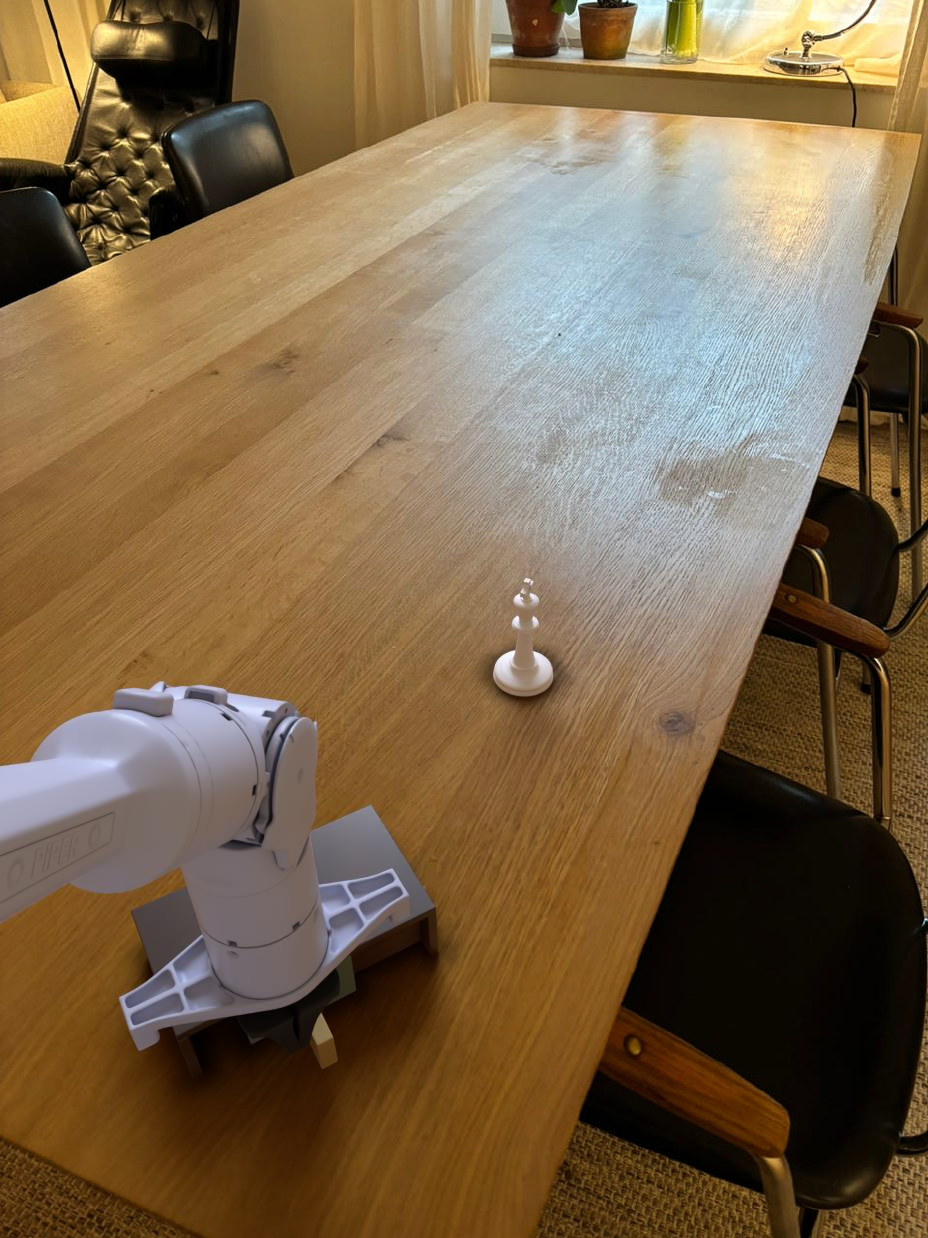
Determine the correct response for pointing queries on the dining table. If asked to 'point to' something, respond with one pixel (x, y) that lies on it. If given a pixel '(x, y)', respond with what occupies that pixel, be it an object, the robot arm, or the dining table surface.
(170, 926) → the cabinet
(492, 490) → the dining table surface
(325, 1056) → the sliding door
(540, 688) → the chess piece
